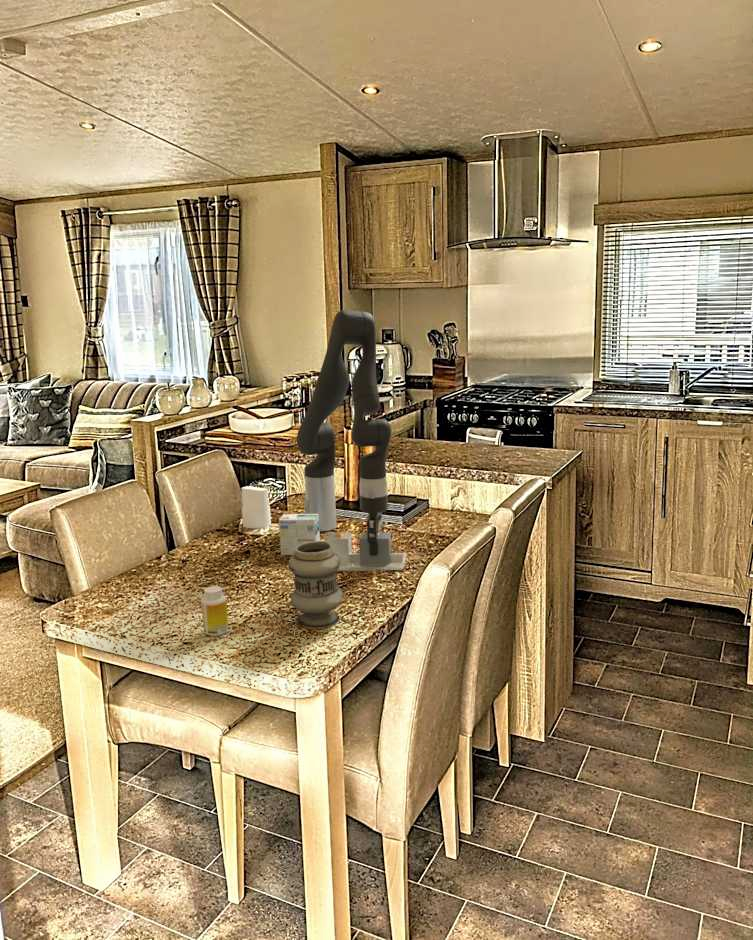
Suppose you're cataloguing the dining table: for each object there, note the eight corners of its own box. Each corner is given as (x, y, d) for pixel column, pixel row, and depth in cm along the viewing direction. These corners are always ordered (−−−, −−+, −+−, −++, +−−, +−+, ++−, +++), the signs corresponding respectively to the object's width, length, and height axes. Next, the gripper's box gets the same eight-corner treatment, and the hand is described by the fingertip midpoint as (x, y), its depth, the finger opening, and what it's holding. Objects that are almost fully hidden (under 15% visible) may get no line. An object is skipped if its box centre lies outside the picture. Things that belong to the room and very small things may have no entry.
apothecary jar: (281, 621, 196) (276, 547, 192) (320, 606, 204) (317, 534, 200) (315, 636, 188) (311, 558, 184) (355, 619, 196) (352, 545, 192)
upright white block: (276, 522, 277) (274, 486, 274) (258, 529, 269) (256, 493, 267) (255, 519, 282) (252, 484, 279) (237, 526, 274) (234, 490, 271)
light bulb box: (321, 548, 249) (319, 512, 246) (317, 555, 242) (315, 519, 240) (285, 548, 250) (282, 513, 248) (280, 555, 243) (278, 519, 241)
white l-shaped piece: (322, 570, 230) (320, 540, 228) (329, 556, 241) (327, 527, 239) (403, 571, 227) (402, 540, 225) (406, 556, 239) (405, 527, 237)
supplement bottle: (233, 631, 192) (230, 588, 190) (213, 639, 188) (210, 595, 186) (218, 624, 196) (215, 582, 193) (198, 632, 192) (195, 589, 189)
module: (360, 563, 231) (359, 538, 230) (362, 556, 237) (362, 532, 235) (389, 563, 230) (388, 538, 229) (391, 556, 236) (390, 532, 235)
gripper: (363, 486, 237) (365, 542, 240) (356, 499, 223) (358, 558, 226) (389, 486, 236) (391, 542, 239) (384, 499, 222) (386, 558, 226)
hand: (375, 550), depth 233 cm, fingers open, 8 cm apart
